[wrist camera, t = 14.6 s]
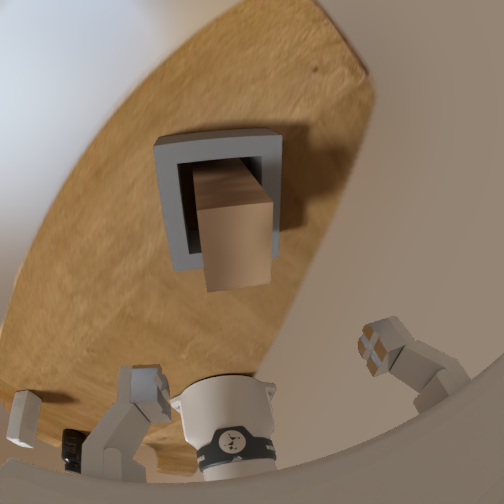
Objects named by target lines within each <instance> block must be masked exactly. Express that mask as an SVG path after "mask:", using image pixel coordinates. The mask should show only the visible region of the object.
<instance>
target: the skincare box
mask: <svg viewBox="0 0 504 504" xmlns="http://www.w3.org/2000/svg"><path fill="white" fill-rule="evenodd" d="M41 402H42V400H41V399H40V398H39V397H38V396H36V395H35V394H34V393H32V392H31V391H29V390H25V391H19V392H16V393H15V397H14V401H13V405H12V410H11V415H10V420H9V425H8V431H7V439H9V440H10V441H12V442H14V443H16V444H17V445H19V446H22V447H29V448H34V447H35V439H36V432H37V425H38V419H39V413H40V407H41Z"/></svg>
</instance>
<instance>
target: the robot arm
mask: <svg viewBox="0 0 504 504" xmlns="http://www.w3.org/2000/svg"><path fill="white" fill-rule="evenodd" d="M362 331H363V333H364V334H363V335H362V336H361V337H360V338H359V341H358V350H359V353H360V355H361V357H362V358H364V359H366V360H367V367H368V369H369V370H370V372H371V374H372V376H373V377H375V376H378V375H380V374H383V373H386V372H389V373H391V374H392V375H394V376H395V377H397V378H398V379H399V380H401V381H402V382H404V383H406V384H407V385H408V386H410V387H411V388H413V389H414V390H416V391H417V392H419V393H420V394H419V395H418V396H417V397H416V398H415V399H414V402H413V404H414V405H415V407H416V409H417V411H418V413H419V415H417V416H416V417H414V418H412V419H410V420H408V421H407V422H405V423H403V424H401V425H399V426H397V427H395V428H393V429H391V430H389V431H387V432H385V433H383V434H381V435H379V436H376V437H374V438H372V439H370V440H367V441H365V442H363V443H360V444H358V445H356V446H353V447H350V448H348V449H345V450H342V451H340V452H337V453H334V454H331V455H328V456H326V457H323V458H319V459H316V460H313V461H310V462H306V463H303V464H300V465H296V466H292V467H288V468H284V469H280V470H277V467H276V464H275V460H276V454H275V448H274V447H273V444H272V441H271V440H270V436H271V434H272V433H273V431H274V429H275V428H276V421H275V418H274V414H273V410H272V406H271V402H270V401H271V399H272V397H273V395H274V393H275V391H276V385H275V384H273V383H265V382H261V381H259V380H257V379H255V378H252V377H248V376H241V375H227V376H218V377H213V378H208V379H205V380H202V381H199V382H197V383H194V384H192V385H191V386H189V387H188V388H187V389H185V391H184V392H183V393H182V394H181V395H179V396H177V397H174V398H172V399H171V400H170V403H171V406H172V407H173V408H174V409H175V410H177V411H178V412H179V413H180V414H181V418H182V424H183V430H184V435H185V440H186V441H187V442H189V443H190V444H191V445H193V446H194V447H195V448H196V449H197V450H198V451H197V459H198V460H197V462H198V465H199V468H200V471H201V472H202V473H203V474H204V480H205V481H204V482H189V483H147V481H146V471H145V467H144V466H143V465H141V464H140V463H138V462H137V461H135V460H133V457H134V455H135V453H136V451H137V449H138V447H139V446H140V444H141V442H142V440H143V438H144V436H145V435H146V433H147V431H148V429H149V427H150V425H151V423H160V422H171V407H170V405H169V404H168V402H167V401H168V399H169V398H170V390H169V384H168V381H167V378H166V376H165V375H164V374H162V368H161V366H160V364H151V365H130V366H121V368H120V370H119V378H118V388H117V400H116V403H113V404H112V405H111V407H110V408H109V409H108V411H107V412H106V413H105V415H104V416H103V417H102V419H101V420H100V421H99V423H98V424H97V425H96V427H95V428H94V429H93V431H92V432H91V433H90V435H89V436H88V437H87V439H86V440H85V441H84V443H83V444H82V458H81V476H80V475H74V474H70V473H65V472H60V471H57V470H53V469H49V468H45V467H41V466H38V465H35V464H31V463H28V462H25V461H22V460H19V459H16V458H9V459H8V460H7V461H6V462H4V464H3V465H2V466H1V467H0V504H504V353H503V354H502V355H501V356H500V357H499V358H498V359H496V360H495V361H494V362H493V363H492V364H491V365H489V366H488V367H487V368H486V369H485V370H483V371H482V372H481V373H480V374H478V375H477V376H476V377H475V378H473V379H472V380H471V378H470V377H469V376H468V374H467V373H466V371H465V370H464V368H463V367H462V366H461V364H460V363H459V361H458V360H457V359H455V358H453V357H451V356H449V355H447V354H445V353H443V352H440V351H439V350H437V349H435V348H432V347H431V346H428V345H426V344H424V343H422V342H420V341H418V340H417V341H415V340H414V338H413V337H412V336H411V334H410V333H409V332H408V330H407V329H406V328H405V326H404V325H403V324H402V322H401V321H400V320H399V318H398V317H396V316H391V317H389V318H386V319H381V320H379V321H375V322H373V323H369V324H366V325H365V326H364V328H363V330H362Z"/></svg>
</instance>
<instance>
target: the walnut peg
mask: <svg viewBox="0 0 504 504" xmlns="http://www.w3.org/2000/svg"><path fill="white" fill-rule="evenodd" d="M192 168H193V179H194V190H195V199H196V209H197V218H198V226H199V234H200V242H201V250H202V258H203V265H204V272H205V279H206V286H207V293H208V292H215V291H222V290H229V289H235V288H242V287H248V286H255V285H261V284H268V283H271V257H272V228H273V201H272V200H271V199H270V197H269V196H268V195H267V193H266V192H265V191H264V189H263V188H262V187H261V185H260V184H259V183H258V182H257V180H256V179H255V178H254V176H253V175H252V174H251V173H250V171H249V170H248V169H247V167H246V166H245V165H244V164H243V162H242V161H241V160H240V159H239V158H231V159H219V160H209V161H200V162H192Z"/></svg>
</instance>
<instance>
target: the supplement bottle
mask: <svg viewBox="0 0 504 504" xmlns="http://www.w3.org/2000/svg"><path fill="white" fill-rule="evenodd" d="M85 440H86V436H85V435H84V434H82V433H80V432H77V431H74V430H70V429H65V430H63V435H62V453H61V457H62V459H63V460H64V461H65V462H66V464H65V470H66V471H67V472H71V473H74V474H78V475H81V458H82V444H83V443H84V441H85Z"/></svg>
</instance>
